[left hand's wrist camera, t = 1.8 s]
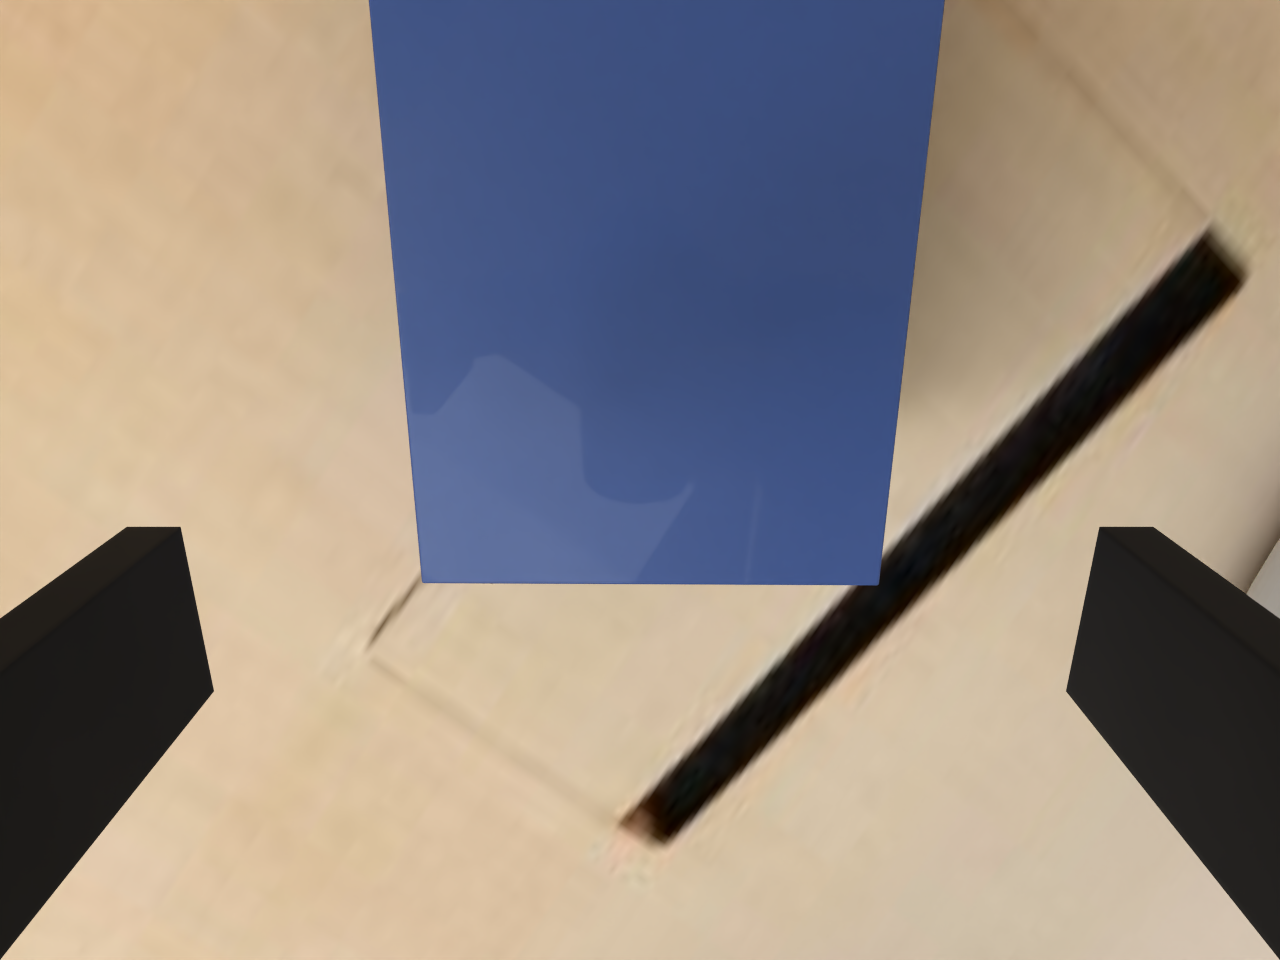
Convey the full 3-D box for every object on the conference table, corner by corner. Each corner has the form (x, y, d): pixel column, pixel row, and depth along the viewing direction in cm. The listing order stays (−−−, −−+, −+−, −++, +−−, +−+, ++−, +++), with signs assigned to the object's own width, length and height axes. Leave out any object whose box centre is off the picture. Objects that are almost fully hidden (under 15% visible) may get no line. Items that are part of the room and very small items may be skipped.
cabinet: (466, -92, 26) (342, -273, 15) (835, -90, 26) (977, -268, 15) (495, 439, 32) (421, 584, 21) (797, 440, 32) (879, 586, 21)
